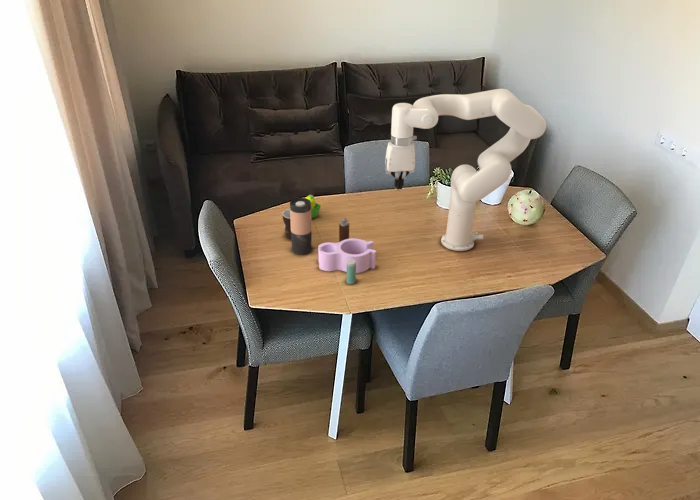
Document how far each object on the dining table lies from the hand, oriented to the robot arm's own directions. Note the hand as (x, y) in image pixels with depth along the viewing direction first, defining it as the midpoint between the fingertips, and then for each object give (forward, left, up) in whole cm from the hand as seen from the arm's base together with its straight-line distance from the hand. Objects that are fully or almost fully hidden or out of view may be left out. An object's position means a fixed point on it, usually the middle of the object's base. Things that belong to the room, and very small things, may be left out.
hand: (398, 187), depth 213 cm
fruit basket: (+33, -24, -24) cm, 47 cm away
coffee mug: (+38, -11, -24) cm, 46 cm away
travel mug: (+36, +1, -24) cm, 43 cm away
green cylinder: (+20, +24, -24) cm, 39 cm away
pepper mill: (+20, +1, -24) cm, 31 cm away
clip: (+20, +12, -24) cm, 34 cm away
